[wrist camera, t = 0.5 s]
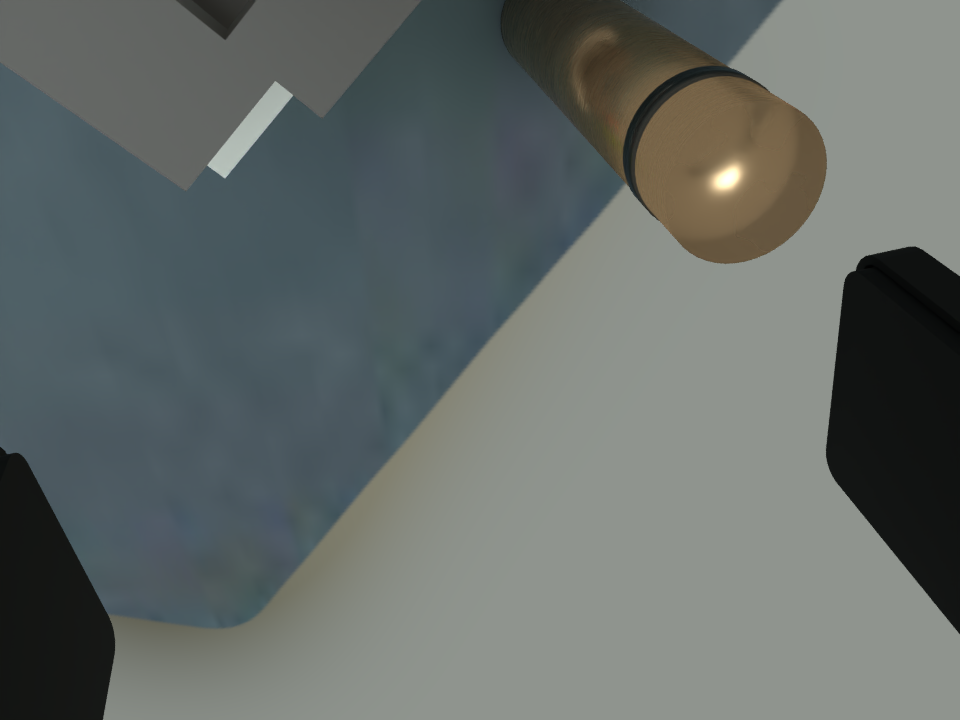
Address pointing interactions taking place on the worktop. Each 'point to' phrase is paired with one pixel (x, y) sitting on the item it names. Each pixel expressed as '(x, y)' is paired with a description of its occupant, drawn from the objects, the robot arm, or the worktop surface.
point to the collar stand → (193, 67)
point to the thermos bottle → (674, 124)
